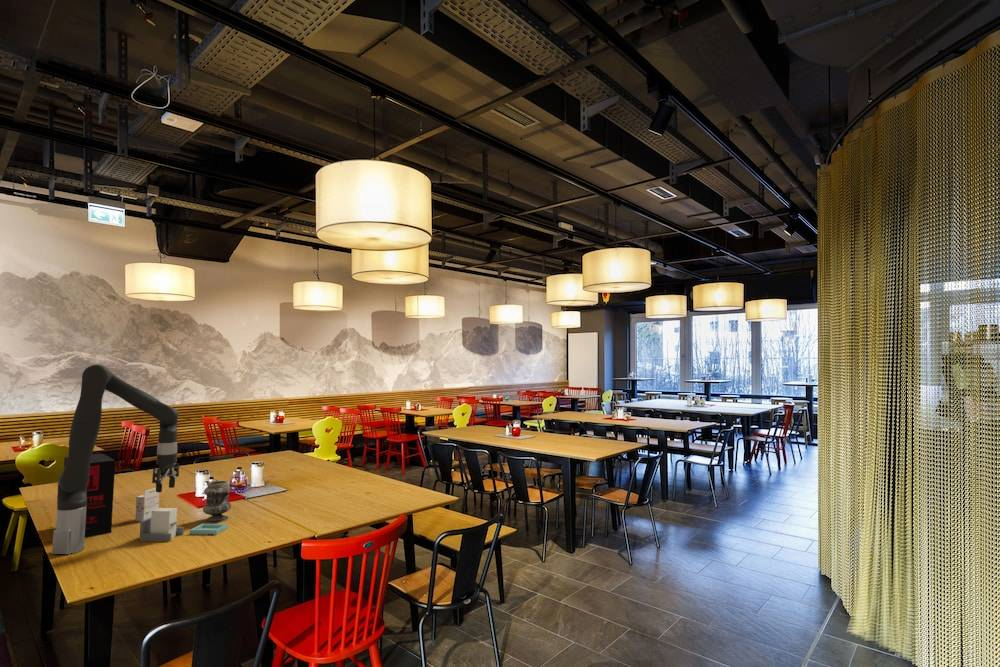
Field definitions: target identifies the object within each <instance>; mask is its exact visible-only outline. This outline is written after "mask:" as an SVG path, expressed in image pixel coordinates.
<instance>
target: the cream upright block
mask: <svg viewBox="0 0 1000 667" xmlns="http://www.w3.org/2000/svg"><path fill="white" fill-rule="evenodd" d="M177 519H178V507H159V508H158V509H155V510H153V511H152V512H151V532H150V533H171V539H172V538H175V537H176V536H177V535H176V527H177V524H178V520H177Z"/></svg>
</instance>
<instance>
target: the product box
mask: <svg viewBox="0 0 1000 667" xmlns="http://www.w3.org/2000/svg"><path fill="white" fill-rule="evenodd" d="M63 458H64V459H63V460H64V461H63V471H64V470H65V467H66V463H67V460H68V456H64V457H63ZM115 470H116V460H115V459H113V458H111V457H110V456H108V455H106V454H104V453H92V455H91V461H90V470H89V481H88V483H87V507H86V523H85V537H86V538H90V537H95V536H96V537H97V536H102V535H106V534H111V533H112V526H113V507H114V492H115V491H114V489H115V473H116V471H115Z"/></svg>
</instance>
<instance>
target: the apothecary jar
mask: <svg viewBox="0 0 1000 667" xmlns="http://www.w3.org/2000/svg"><path fill="white" fill-rule="evenodd" d="M228 482H229V481H228V480H215V481H210V482H208V483H207V487H205V488H204V491H203V494H204V495H205V496H206V502H205V504H204V506H203V507H202V511H203V513H205V514H207V515H208V517H207V518H205V519H204V521H205V522H206V523H220V522H224V521H227V520H228V519H229V516H228V515H224V514H225V513H227V512H228V511H229V510H231V508H232V504H231V503H230V502H229V494H230V492H231V491H232V487H231V486H230V485H229V483H228Z"/></svg>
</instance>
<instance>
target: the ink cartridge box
mask: <svg viewBox="0 0 1000 667" xmlns="http://www.w3.org/2000/svg"><path fill="white" fill-rule="evenodd" d="M151 491H152V492H151ZM143 492H144V494H141V495H138V496H136V497H135V498H136V500H135V501H136V503H135V522H141V521H144V520H146V519H148V518H151V512H152V511H153V510H155V509H158V508H160V507H159V506H160V504H159V502H160V500H159V499H160V492H156V487H153V488H149V489H146V490H144V491H143Z"/></svg>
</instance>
